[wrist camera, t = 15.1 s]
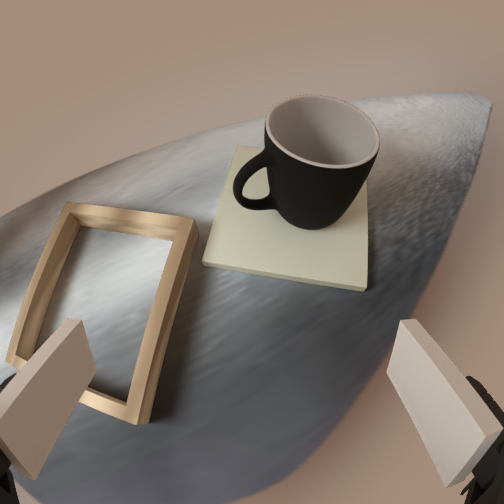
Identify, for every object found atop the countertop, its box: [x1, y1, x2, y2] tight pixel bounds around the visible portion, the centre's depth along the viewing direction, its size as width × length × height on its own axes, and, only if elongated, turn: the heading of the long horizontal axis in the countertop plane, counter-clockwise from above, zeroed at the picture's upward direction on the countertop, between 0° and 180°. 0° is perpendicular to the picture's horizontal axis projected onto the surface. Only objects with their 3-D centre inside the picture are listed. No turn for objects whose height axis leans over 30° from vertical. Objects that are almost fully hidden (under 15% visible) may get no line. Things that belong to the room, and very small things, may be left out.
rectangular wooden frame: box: [6, 202, 199, 425], centre depth 26 cm, size 15×18×3 cm
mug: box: [233, 95, 380, 230], centre depth 26 cm, size 12×9×10 cm
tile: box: [202, 146, 368, 292], centre depth 31 cm, size 15×15×1 cm
